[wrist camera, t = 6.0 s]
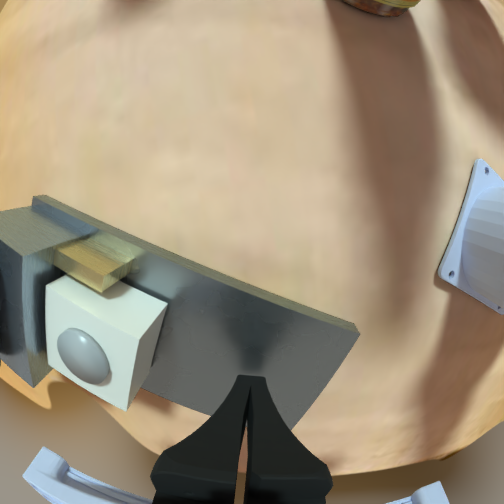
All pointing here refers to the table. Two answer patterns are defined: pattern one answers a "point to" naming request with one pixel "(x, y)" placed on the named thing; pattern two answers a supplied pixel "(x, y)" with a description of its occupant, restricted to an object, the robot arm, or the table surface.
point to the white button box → (102, 336)
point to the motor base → (176, 315)
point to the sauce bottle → (383, 6)
